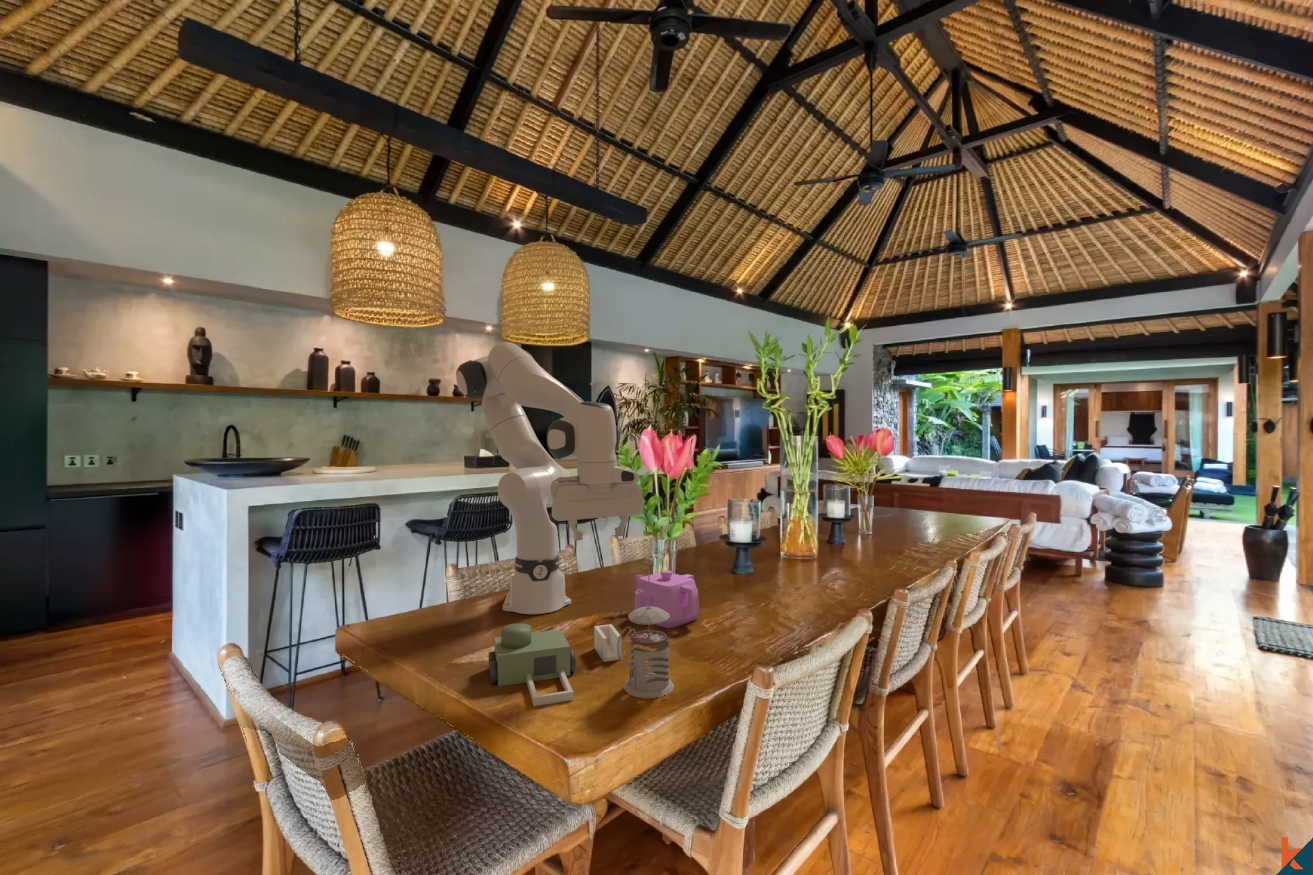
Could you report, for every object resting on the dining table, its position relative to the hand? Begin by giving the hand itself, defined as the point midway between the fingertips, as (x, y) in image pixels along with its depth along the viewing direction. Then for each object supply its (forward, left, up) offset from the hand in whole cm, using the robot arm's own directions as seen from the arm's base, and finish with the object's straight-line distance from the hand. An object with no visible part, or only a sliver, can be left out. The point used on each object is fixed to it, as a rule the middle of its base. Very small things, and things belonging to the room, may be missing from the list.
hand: (599, 537), depth 126 cm
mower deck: (+9, -15, -26) cm, 31 cm away
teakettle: (-17, +22, -26) cm, 38 cm away
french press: (+19, +4, -26) cm, 32 cm away
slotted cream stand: (+1, +2, -26) cm, 26 cm away
